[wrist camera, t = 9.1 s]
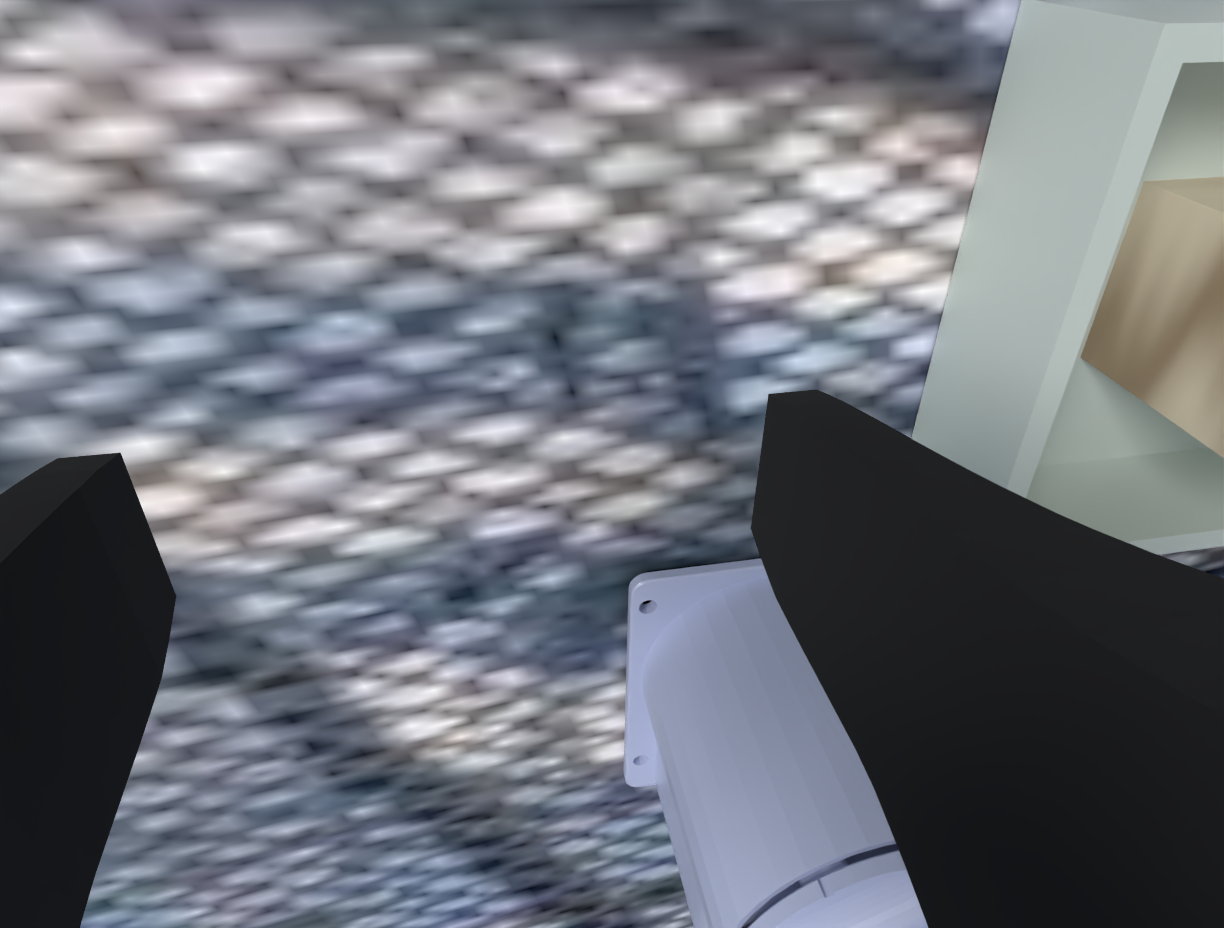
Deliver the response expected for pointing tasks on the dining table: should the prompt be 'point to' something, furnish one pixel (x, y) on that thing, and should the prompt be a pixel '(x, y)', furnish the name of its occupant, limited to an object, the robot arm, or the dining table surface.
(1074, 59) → the bin
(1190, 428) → the birch block
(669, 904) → the dining table surface
